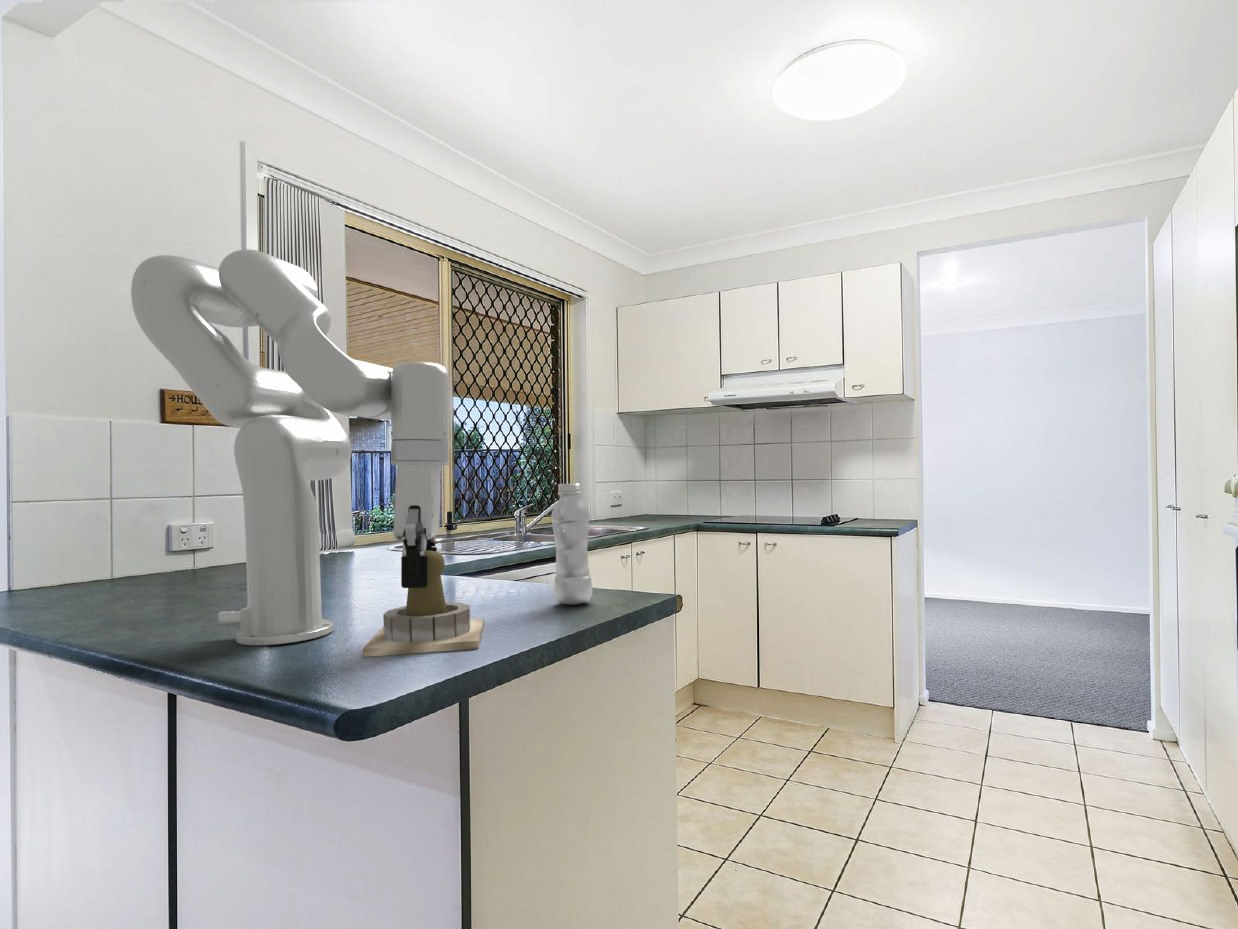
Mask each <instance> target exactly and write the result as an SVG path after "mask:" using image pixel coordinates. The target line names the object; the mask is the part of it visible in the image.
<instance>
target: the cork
mask: <svg viewBox="0 0 1238 929" xmlns="http://www.w3.org/2000/svg"><path fill="white" fill-rule="evenodd" d="M425 556H428V585H427V586H426V587H425V588H407V595H406V596H407V597H406V605H405V606H406V616H430V615H437V614H443V613H447V609H446V603H445V602H446V599H445V598H446V597H445V592H444V586H443V580H442V573H443V572H444V570H445V564H446V562H445V558H444V556H443V554H442V553H441V552H440V551H437V552H436V551H428V550H427V551H426V552H425Z"/></svg>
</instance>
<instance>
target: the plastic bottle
mask: <svg viewBox="0 0 1238 929" xmlns="http://www.w3.org/2000/svg"><path fill="white" fill-rule="evenodd" d="M557 490H558V492H557V495H558V496H559V499H558V500H557V502H556V504H555V505H554V507H553V509H552V511H551V516H550V520H551V527H552V531H553V537H554V547H555V576H554V582H553V594H554V597H555V598H554V599H556V601H557V603H559V604H563V605H567V606H577V605H581V604H584V603H588V602H589V601H590V600H591V598H592V596H593V589H594V588H593V581H592V580H593V579H592V577H591V573H590V572H591V571H590V566H589V565H590V564H589V557H588V544H589V543H588V538H589V537H588V536H589V535H588V534H589V528H590V527H589V526H590V513H589V510H588V508H587V507H586V505H585V503H584V502H583V501H582V500H581V498H580V495H582V493H581V492H582V491H581V484H580V483H559V484H558V486H557Z"/></svg>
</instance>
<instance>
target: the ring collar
mask: <svg viewBox="0 0 1238 929" xmlns="http://www.w3.org/2000/svg"><path fill="white" fill-rule="evenodd" d="M445 603H446V609H447V613H443V614H437V615H430V616H406V605H404V606H399V607H396V608H393V609H392V608H391V609H389V610H388V609H387V610H386V612H384V613H383V616H382V617H383V626H382V627H381V629H379V631H378V632H377V633H376V634H375V635H374V636H373V637H372V638H371V639H370V640H369V641H368V642H367V644H365V645H364V646H363V648H362V658H366V657H367V658H369V657H380V656H395V655H410V654H422V653H423V654H424V653H436V652H449V651H462V650H463V651H464V650H475V649H476V650H478V649H480V643H481V640H482V635H483V632H484V627H485V618H471V606H470V604H467V603H466V604H465V603H462V602H449V601H445Z"/></svg>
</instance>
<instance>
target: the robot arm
mask: <svg viewBox="0 0 1238 929" xmlns="http://www.w3.org/2000/svg"><path fill="white" fill-rule="evenodd" d="M130 290H131V291H130V296H131V297H130V299H131V304H132V310H133V313H134V316H135V318H136V321H137V323H138V325H139V327H140V329H141V330H142V332H143V333H144V335H145V336H146V337H147V340H149V341H150V342H151V343H152V345H153V346H154V347H155V348H156V349H157V350H158V351H159V352H160V353H161V354H162V356H164V358H165V359H166V360H167V361H168V362H169V363H170V364H171V365H172V367H173V368H174V370H176V372H177V373H178V374H179V376H180V377H181V378H182V380H183V381H184V382H185V383H186V385H187V386H188V387H189V389H190V390H191V391H192V392H193V394H195V396H196V398H198V400H199V401H200V402H201V404H202V405H203V406H204V407H205V409H207V411H208V412H209V413H210V415H211V417H213V418H214V419H215V420H216V421H217V422H218V423H220V424H222V425H224V426H226V427H227V426H228V427H231V428H237V429H239V430H238V431H237V434H236V436H235V439H234V445H233V453H234V460H235V464H236V465H235V466H236V469H237V472H238V477H239V480H240V485H241V492H242V499H243V500H242V502H243V512H244V531H245V533H244V534H245V561H246V563H245V564H246V594H247V606H245V607H243V608H241V609H239V610H238V611H237V610H236V611H235V610H229V611H225V610H223V611H219V612H218V614H217V618H216V619H217V624H218V625H219V626H220V627H230V626H231V627H232V626H238V627H239V628H240V629H239V630H238V631H237V632H236V634H235V641H236V643H238V644H239V645H245V646H273V645H274V646H275V645H284V644H291V643H298V642H302V641H308V640H313V639H317V638H320V637H324V636H326V635H328V634H331V633H332V632H333V631H334V622H333V621H332V620H330V619H326V618H323V617H322V616H323V615H322V613H323V612H322V594H321V593H322V590H321V585H322V584H321V583H322V582H321V563H320V562H321V558H320V555H321V554H320V553H321V552H320V529H319V526H320V525H319V512H318V511H319V510H318V505H317V501H316V498H315V495H314V492H313V490H312V488H311V485H310V483H309V482H310V481H325V480H329V479H334V478H336V477H338V476H339V475H341V474H342V473H344V471H346V469H347V468H348V466H349V464H350V461H351V459H352V444H351V440H350V438H349V436H348V433H347V432H346V430H345V428H344V427H343V426H342V424H341V423H340V422H339V421H338V419H337V418H336V417H335V416H334V414H335V415H339V416H349V417H350V416H351V417H359V418H364V419H373V420H390V465H391V466H396V467H397V468H396V474H395V476H396V478H395V486H394V487H395V489H394V512H393V532H392V533H393V534H392V535H393V538H394V539H395V540H397V541H401V540H402V539H403V541H402V542H403V543H402V548H401V549H402V550H401V558H400V559H401V560H400V561H401V563H400V565H401V568H400V569H401V572H400V573H401V574H400V577H401V579H400V580H401V581H400V582H401V583H400V584H401V585H400V586H401V587H402V588H403V589H408V588H425V587H426V586H427V585H428V556H425V552H426V551H427V550H428V551H436V552H438V547H436V545H437V539H436V538H437V537H436V535H437V534H438V533H439V530H440V516H441V466H449V462H450V459H449V458H450V457H449V456H450V453H449V452H450V451H449V449H450V445H449V444H450V443H449V438H450V437H449V436H450V435H449V434H450V433H449V429H450V428H449V426H450V425H449V422H450V421H449V420H450V419H449V418H450V415H449V414H450V413H449V412H450V407H449V406H450V405H449V404H450V397H449V395H450V394H449V392H450V391H449V390H450V386H449V385H450V383H449V382H450V380H449V371H448V370H447V369H446V367H445V366H444V365H441V364H440V363H435V362H429V361H402V362H400V363H397V364H396V365H394V367H390V366H385V365H380V364H376V363H374V362H370V361H369V362H368V361H364V360H360V359H355V358H351V357H350V356H348V355H347V354H346V353H345V352H343V351H342V350H341V349H340V348H339V347H338V346H337V345H335V343H333V342H332V340H330V339H329V338H328V337H327V334H328V332H329V331H330V327H331V324H332V316H331V313H330V311H329V309H328V308H327V306H325V305H324V303H322V302H321V301H320V300H319V292H318V291H319V290H318V287H317V284H316V282H315V280H314V278H313V277H312V275H310V273H309V272H307V270H305V269H304V268H302V267H300V266H298V265H296V264H294V263H291V262H288V261H286V260H283V259H281V258H278V257H276V256H273V255H271V254H269V253H265V252H262V251H260V250H256V249H249V248H248V249H245V248H244V249H239V250H238V249H237V250H235V251H232V252H230V253H229V254H228V255H226V256H225V257H224V258H223V260H221V263H219V267H215V266H213V265H210V264H206V263H203V262H200V261H198V260H194V259H191V258H187V257H183V256H177V255H170V254H169V255H167V254H165V255H164V254H163V255H161V254H160V255H155V256H151V257H148V258H146V259H145V260H144V261H142V262H141V263H139V265H138V266H137V267H136V268H135V270H134V273H133V276H132V280H131V286H130ZM213 324H215V325H219V326H224V327H227V328H228V327H229V328H250V327H259V328H260V329H261V330H262V331H263V332H264V333H266V334H267V336H268V337H269V338H270V339H272V341H273V342H275V343H276V344H277V345H278V356H279V358H280V362H281V365H282V367H283V369H284V370H283V371H282V370H277V369H272V368H266V367H263V366H259V365H256V364H254V363H252V362H251V361H249V360H248V359H247V358H246V357H245V356H244V355H243V354H242V353H241V352H240V351H239V350H238V349H237V347H236V346H235V344H234V343H233V342H232V341H231V340H230V339H229V337H228V336H226V335H225V334H224V333H223V332H222V331H221V330H220V329H218V328H217V327H215V326H214V325H213ZM332 413H333V414H332Z"/></svg>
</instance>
